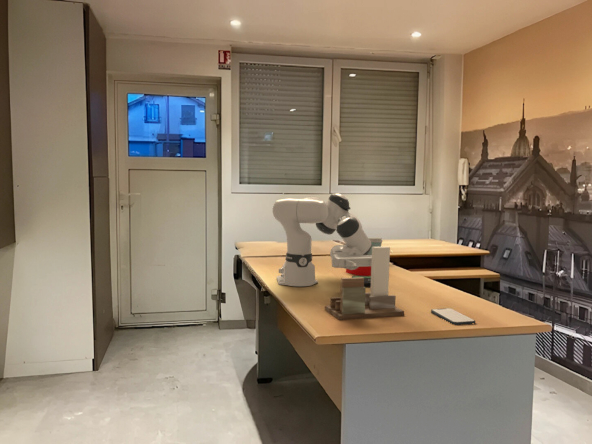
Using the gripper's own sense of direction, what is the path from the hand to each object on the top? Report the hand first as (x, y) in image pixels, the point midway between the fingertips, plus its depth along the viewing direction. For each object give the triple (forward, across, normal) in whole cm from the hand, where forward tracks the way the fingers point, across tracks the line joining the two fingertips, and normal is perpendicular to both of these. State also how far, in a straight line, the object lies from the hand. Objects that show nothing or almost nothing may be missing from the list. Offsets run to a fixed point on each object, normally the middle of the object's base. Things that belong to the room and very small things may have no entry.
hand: (365, 264), depth 183 cm
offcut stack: (+17, +13, -14) cm, 26 cm away
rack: (+13, +6, -15) cm, 21 cm away
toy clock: (-58, -28, -15) cm, 67 cm away
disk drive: (-33, -14, -16) cm, 39 cm away
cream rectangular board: (+12, 0, -14) cm, 18 cm away
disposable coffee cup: (-86, -46, -15) cm, 98 cm away
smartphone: (+26, -22, -16) cm, 38 cm away
